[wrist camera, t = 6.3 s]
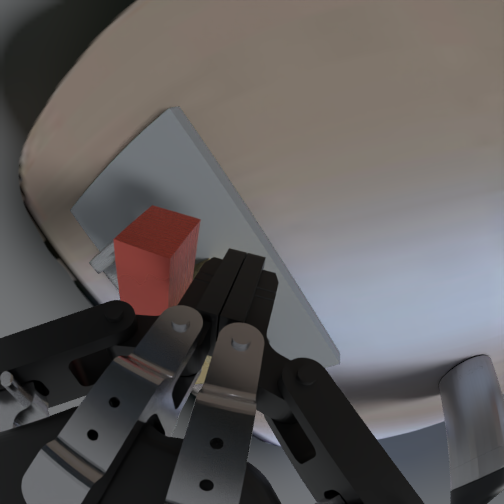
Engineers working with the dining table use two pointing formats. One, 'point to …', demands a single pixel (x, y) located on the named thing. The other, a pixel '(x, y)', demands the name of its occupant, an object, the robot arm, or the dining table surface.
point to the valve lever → (156, 259)
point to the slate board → (202, 207)
